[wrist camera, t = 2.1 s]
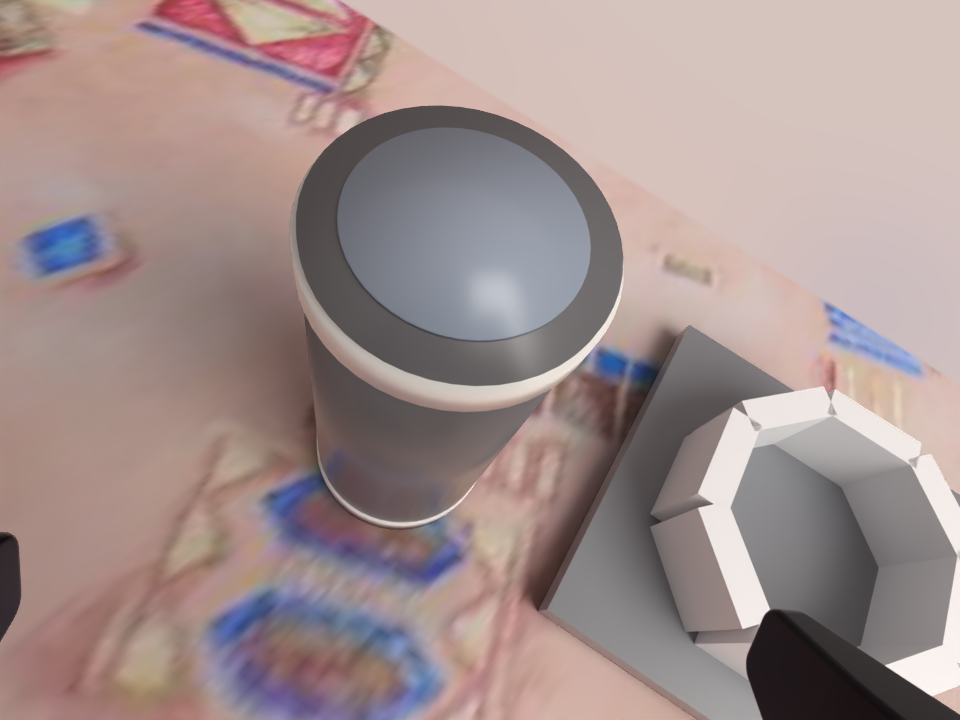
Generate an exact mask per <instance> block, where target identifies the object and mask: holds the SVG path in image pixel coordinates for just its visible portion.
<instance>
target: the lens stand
mask: <svg viewBox="0 0 960 720" xmlns="http://www.w3.org/2000/svg"><path fill="white" fill-rule="evenodd" d="M921 444H922V443H920V442H919V441H917V440H916V439H914V438H912V437H911V436H909V435H908V434H906V433H904V432H903V431H901V430H900V429H898V428H896V427H895V426H893V425H892V424H890V423H888V422H887V421H885V420H884V419H882V418H880V417H879V416H877V415H876V414H874V413H872V412H871V411H869V410H868V409H866V408H864V407H863V406H861V405H860V404H858V403H856V402H855V401H853V400H852V399H850V398H848V397H847V396H845V395H844V394H842V393H840V392H839V391H837V390H836V389H834V390H832V391H830V392H828V393H827V392H826V390H825V388H824V386H822V387H817V388H811V389H806V390H800V391H794V390H792V389H790V388H789V387H787V386H786V385H784V384H783V383H781V382H779V381H778V380H776V379H775V378H773V377H771V376H770V375H768V374H767V373H765V372H763V371H762V370H760V369H759V368H757V367H755V366H754V365H752V364H751V363H749V362H748V361H746V360H744V359H743V358H741V357H740V356H738V355H736V354H735V353H733V352H732V351H730V350H728V349H727V348H725V347H724V346H722V345H721V344H719V343H717V342H716V341H714V340H713V339H711V338H709V337H708V336H706V335H705V334H703V333H701V332H700V331H698V330H697V329H695V328H693V327H692V326H690V325H689V326H688V327H687V328H686V329H685V330H684V331H683V332H681V333H680V334H679V335H678V336H677V337H676V339H675V341H674V343H673V345H672V347H671V349H670V351H669V353H668V355H667V357H666V359H665V361H664V363H663V365H662V367H661V369H660V371H659V373H658V375H657V377H656V379H655V381H654V383H653V385H652V387H651V389H650V391H649V393H648V395H647V397H646V399H645V401H644V403H643V404H642V406H641V408H640V410H639V412H638V414H637V416H636V418H635V420H634V422H633V424H632V426H631V428H630V430H629V432H628V434H627V436H626V438H625V440H624V442H623V444H622V446H621V448H620V450H619V452H618V454H617V456H616V458H615V460H614V462H613V464H612V466H611V468H610V470H609V472H608V474H607V475H606V477H605V479H604V481H603V483H602V485H601V487H600V489H599V491H598V493H597V495H596V497H595V499H594V501H593V503H592V505H591V507H590V509H589V511H588V513H587V515H586V517H585V519H584V521H583V523H582V525H581V527H580V529H579V531H578V533H577V535H576V537H575V539H574V541H573V543H572V545H571V546H570V548H569V550H568V552H567V554H566V556H565V558H564V560H563V562H562V564H561V566H560V568H559V570H558V572H557V574H556V576H555V578H554V580H553V582H552V584H551V586H550V588H549V590H548V592H547V594H546V596H545V598H544V600H543V602H542V604H541V606H540V608H539V610H538V612H539V613H541V614H542V615H544V616H545V617H547V618H548V619H550V620H551V621H553V622H554V623H556V624H557V625H559V626H560V627H562V628H563V629H565V630H566V631H568V632H569V633H571V634H572V635H573V636H575V637H576V638H578V639H579V640H581V641H582V642H584V643H585V644H587V645H588V646H590V647H591V648H593V649H594V650H596V651H597V652H599V653H600V654H602V655H603V656H604V657H606V658H607V659H609V660H610V661H612V662H613V663H615V664H616V665H618V666H619V667H621V668H622V669H624V670H625V671H627V672H628V673H630V674H631V675H633V676H634V677H635V678H637V679H638V680H640V681H641V682H643V683H644V684H646V685H647V686H649V687H650V688H652V689H653V690H655V691H656V692H658V693H659V694H661V695H662V696H664V697H665V698H666V699H668V700H669V701H671V702H672V703H674V704H675V705H677V706H678V707H680V708H681V709H683V710H684V711H686V712H687V713H689V714H690V715H692V716H693V717H695V718H696V719H697V720H762V717H761V714H760V711H759V709H758V706H757V703H756V700H755V697H754V694H753V691H752V688H751V686H750V683H749V680H748V676H747V672H746V657H747V654H748V651H749V649H750V647H751V644H752V642H753V640H754V637H755V635H756V633H757V630H758V628H759V626H760V623H761V621H762V619H763V617H764V615H765V614H766V613H767V612H768V611H769V610H771V609H775V608H777V609H788V610H797V611H801V612H804V613H805V614H807V615H809V616H810V617H812V618H813V619H815V620H816V621H818V622H819V623H821V624H822V625H824V626H825V627H827V628H828V629H830V630H831V631H833V632H835V633H836V634H838V635H839V636H841V637H842V638H844V639H845V640H847V641H848V642H850V643H851V644H853V645H854V646H856V647H857V648H859V649H860V650H862V651H863V652H865V653H867V654H868V655H870V656H871V657H873V658H874V659H876V660H877V661H879V662H880V663H882V664H883V665H885V666H886V667H888V668H889V669H891V670H892V671H894V672H895V673H897V674H899V675H900V676H902V677H903V678H905V679H906V680H908V681H909V682H911V683H912V684H914V685H915V686H917V687H918V688H920V689H921V690H923V691H924V692H926V693H927V694H929V695H931V696H933V695H936V694H938V693H941V692H944V691H946V690H949V689H952V688H954V687H957V686H959V685H960V495H959V494H957V493H956V492H954V491H953V490H951V489H950V488H949V486H948V484H947V482H946V481H945V479H944V477H943V475H942V473H941V471H940V469H939V467H938V465H937V464H936V462H935V460H934V458H933V456H932V454H928V455H924V456H919V453H920V449H921Z"/></svg>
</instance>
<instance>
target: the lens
mask: <svg viewBox="0 0 960 720" xmlns="http://www.w3.org/2000/svg"><path fill="white" fill-rule="evenodd" d="M290 248H291V256H292V265H293V273H294V279H295V285H296V291H297V294H298V297H299V300H300V303H301V306H302V309H303V311H304V316H305V325H306V335H307V344H308V354H309V363H310V373H311V383H312V392H313V402H314V411H315V421H316V430H317V455H318V462H319V467H320V470H321V473H322V476H323V478H324V480H325V482H326V485H327V487H328V489H329V490H330V492H331V494H332V495H333V497H334V498H335V499H336V500H337V502H338V503H339V504H340V505H341V506H342V507H343V508H344V509H345V510H346V511H348V512H349V513H350V514H351V515H353V516H355V517H356V518H358V519H359V520H361V521H363V522H366V523H368V524H370V525H373V526H377V527H380V528H386V529H397V530H403V529H412V528H417V527H421V526H424V525H427V524H429V523H432V522H434V521H436V520H438V519H440V518H441V517H443V516H445V515H446V514H448V513H449V512H450V511H452V510H453V509H454V508H455V507H456V506H458V505H459V504H460V503H461V502H462V501H463V499H464V498H465V497H466V496H467V495H468V493H469V492H470V491H471V489H472V488H473V486H474V485H475V483H476V481H477V480H478V478H479V477H480V476H481V475H482V474H483V472H484V471H485V470H486V469H487V467H488V466H489V465H490V464H491V463H492V461H493V460H494V459H495V458H496V456H497V455H498V454H499V453H500V451H501V450H502V449H503V448H504V447H505V445H506V444H507V443H508V442H509V440H510V439H511V438H512V437H513V436H514V434H515V433H516V432H517V431H518V429H519V428H520V427H521V426H522V424H523V423H524V422H525V421H526V420H527V418H528V417H529V416H530V415H531V413H532V412H533V411H534V410H535V409H536V407H537V406H538V405H539V404H540V402H541V401H542V400H543V399H544V397H545V396H546V395H547V394H548V393H549V391H550V390H551V389H552V388H553V387H554V386H556V385H557V384H559V383H560V382H562V381H563V380H564V379H565V378H566V377H567V376H568V375H569V374H571V373H572V372H573V371H574V370H575V369H576V368H577V367H578V365H579V364H580V363H581V362H582V361H583V360H584V358H585V357H586V356H587V355H588V354H589V352H590V351H591V350H592V349H593V348H594V346H595V345H596V344H597V343H598V341H599V340H600V339H601V337H602V336H603V335H604V334H605V332H606V331H607V329H608V327H609V325H610V323H611V322H612V320H613V318H614V316H615V313H616V310H617V307H618V305H619V302H620V298H621V293H622V287H623V280H624V261H623V251H622V243H621V238H620V234H619V230H618V226H617V223H616V220H615V218H614V215H613V213H612V211H611V208H610V206H609V204H608V203H607V201H606V199H605V197H604V195H603V194H602V192H601V190H600V189H599V188H598V186H597V185H596V184H595V182H594V181H593V179H592V178H591V177H590V176H589V175H588V173H587V172H586V171H585V170H584V169H583V168H582V167H581V166H580V165H579V164H578V163H577V162H576V161H575V160H574V159H573V158H572V157H571V156H570V155H568V154H567V153H566V152H565V151H564V150H563V149H561V148H560V147H558V146H557V145H556V144H554V143H553V142H552V141H550V140H549V139H547V138H545V137H544V136H542V135H540V134H539V133H537V132H535V131H534V130H532V129H530V128H528V127H526V126H523V125H521V124H519V123H517V122H515V121H512V120H509V119H507V118H504V117H501V116H498V115H495V114H491V113H488V112H484V111H480V110H475V109H469V108H463V107H453V106H419V107H412V108H404V109H400V110H396V111H392V112H387V113H384V114H381V115H379V116H376V117H373V118H371V119H368V120H366V121H364V122H362V123H360V124H358V125H356V126H354V127H353V128H351V129H349V130H348V131H347V132H345V133H344V134H342V135H341V136H340V137H338V138H337V139H336V140H335V141H334V142H333V143H331V144H330V145H329V146H328V147H327V148H326V149H325V150H324V151H323V152H322V154H321V155H320V156H319V157H318V158H317V160H316V161H315V162H314V164H313V165H312V166H311V167H310V169H309V170H308V171H307V173H306V175H305V177H304V179H303V181H302V182H301V184H300V186H299V188H298V191H297V194H296V197H295V200H294V203H293V207H292V213H291V219H290Z"/></svg>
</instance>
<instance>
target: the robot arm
mask: <svg viewBox="0 0 960 720" xmlns="http://www.w3.org/2000/svg"><path fill="white" fill-rule="evenodd" d="M20 600H21V577H20V559H19V545H18V541H17V539H16V537H15V536H14V535H12V534H10V533H8V532H0V642H1V640H2V638H3V636H4V635H5V633H6V631H7V630H8V628H9V626H10V624H11V623H12V621H13V619H14V617H15V615H16V613H17V611H18V608H19V605H20ZM746 672H747V676H748V680H749V683H750V686H751V688H752V691H753V694H754V697H755V700H756V703H757V706H758V709H759V711H760V714H761V717H762V720H960V715H959V714H958V713H956V712H955V711H953V710H952V709H950V708H949V707H947V706H946V705H944V704H943V703H941V702H940V701H938V700H937V699H935V698H934V697H932V696H931V695H929V694H927V693H926V692H924V691H923V690H921V689H920V688H918V687H917V686H915V685H914V684H912V683H911V682H909V681H908V680H906V679H905V678H903V677H902V676H900V675H899V674H897V673H895V672H894V671H892V670H891V669H889V668H888V667H886V666H885V665H883V664H882V663H880V662H879V661H877V660H876V659H874V658H873V657H871V656H870V655H868V654H867V653H865V652H863V651H862V650H860V649H859V648H857V647H856V646H854V645H853V644H851V643H850V642H848V641H847V640H845V639H844V638H842V637H841V636H839V635H838V634H836V633H835V632H833V631H831V630H830V629H828V628H827V627H825V626H824V625H822V624H821V623H819V622H818V621H816V620H815V619H813V618H812V617H810V616H809V615H807V614H805V613H804V612H801V611H797V610H788V609H777V608H775V609H771V610H769V611H768V612H767V613H766V614H765V615H764V617H763V619H762V621H761V623H760V626H759V628H758V630H757V633H756V635H755V637H754V640H753V642H752V644H751V647H750V649H749V651H748V654H747V657H746Z"/></svg>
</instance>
